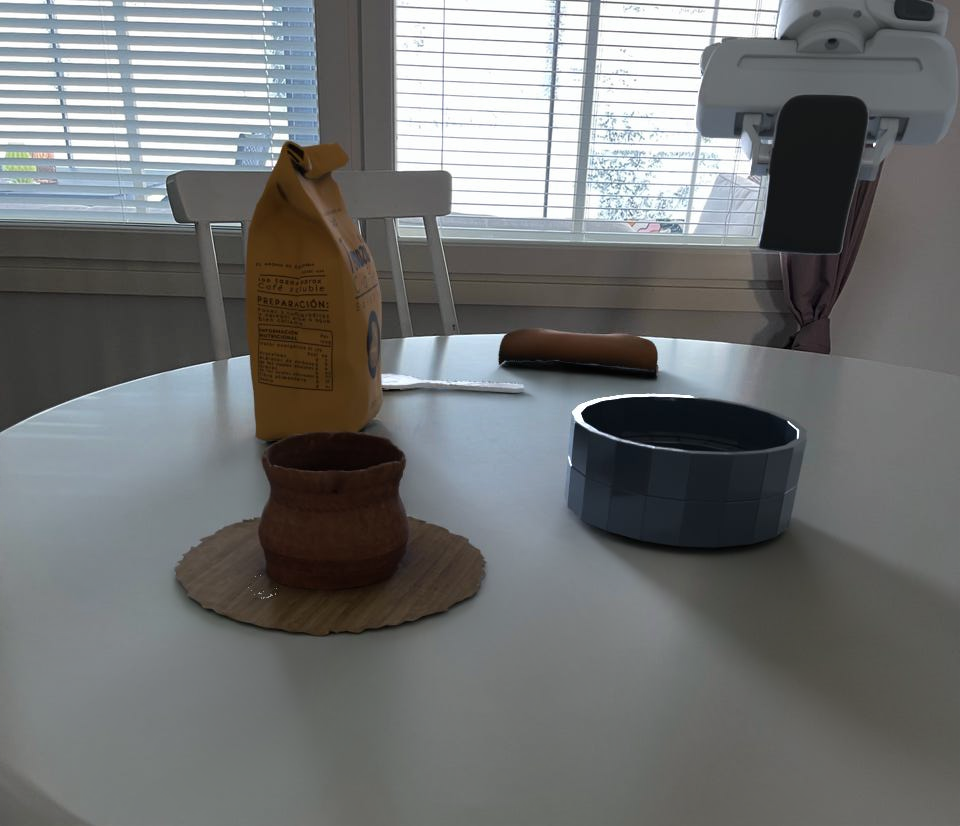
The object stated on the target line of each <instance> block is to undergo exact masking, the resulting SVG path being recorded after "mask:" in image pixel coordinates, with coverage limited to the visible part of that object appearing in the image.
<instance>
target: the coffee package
mask: <svg viewBox="0 0 960 826" xmlns="http://www.w3.org/2000/svg"><path fill="white" fill-rule="evenodd" d="M281 146H282V147H281V149H280V152H279V156H278V158H277V160H276V162H275V165H274V167H273V168H272V170H271V173H270V174H269V176H268V179H267V181H266V183H265V187H264V189H263V192H262V194H261V196H260V197H259V199H258V201H257V202H256V204H255V208H254V211H253V214H252V217H251V220H250V224H249V226H248V230H247V231H248V232H247V240H246V241H247V242H246V254H245V255H246V256H245V330H246V337H247V346H248V356H249V367H250V376H251V384H252V394H253V408H254V421H255V422H254V423H255V438H256V439H257V440H259V441H263V442H279V441H281V440H282V439H283V438H284V437H286V436H287V435H290V434H305V433H306V432H309V431H352V432H358V433H359V431H361V430H362V429H364V428H365V427H367V426H369V424H370V423H371V422H372V421H373V419H374V418H376V417H377V415H378V414H379V412H380V410H381V408H382V406H383V401H384V395H383V389H382V378H381V374H382V323H383V322H382V320H383V319H382V318H383V317H382V314H383V311H382V310H383V308H382V291H381V286H380V283H379V277H378V273H377V269H376V265H375V261H374V257H373V255H372V254H371V251H370V249H369V247H368V246H367V244H366V241H365V239H364V237H363V236H362V234H361V232H360V231H359V229H358V227H357V225H356V224H355V222H354V221H353V220H352V218H351V217H350V215H349V214H348V209H347V206H346V202H345V199H344V196H343V193H342V190H341V187H340V185H339V184H340V183H338V181H337V180H336V179H335V178H334V176H333V171H335V170H338V169H341V168H343V167H345V166H346V165H347V164H348V163H349V160H350V157H349V155H348V154H347V152H346V151H345V150H344V148H343V147H342V145H341V144H340V143H339V142H338V141H335V142H331V143H320V144H314V145H313V144H312V145H307V146H302V145H300V144H298V143H296V142H294V141H292V140H286V141H285V142H284V143H283V144H282V145H281Z"/></svg>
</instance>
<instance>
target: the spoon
mask: <svg viewBox="0 0 960 826" xmlns="http://www.w3.org/2000/svg"><path fill="white" fill-rule="evenodd" d="M381 378H382V388H392V389H400V390H403V389H402V388H412V389H416V388H436V389H448V390H465V391H480V392H481V391H482V392H496V393H497V392H499V393H512V394H519V393H523V392H524V391H525V385H524V384H521V383H519V382H518V383H516V382H514V383H513V382H505V383H504V382H494V381H488V382H487V381H483V380H481V381H475V380H473V381H471V380H469V381H463V380H459V381H458V380H456V379H454V380H449V379H445V380H443V379H441V380H436V379H425V378H419V377H417V376H414V375H408V374H400V373H388V372H386V373H381Z"/></svg>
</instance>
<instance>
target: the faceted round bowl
mask: <svg viewBox="0 0 960 826" xmlns="http://www.w3.org/2000/svg"><path fill="white" fill-rule="evenodd" d="M807 438H808V430H807V429H806V428H805V427H803V426H802V424H800V423H798V421H796V420H795V419H792V418H790V417H788V416H785V415H783V414H781V413H778V412H776V411H774V410H773V411H772V410H769V409H765V408H762V407H759V406H755V405H751V404H747V403H742V402H736V401H729V400H725V399H724V400H723V399H718V398H712V397H703V396H693V395H681V394H658V393H657V394H656V393H651V394H650V393H646V394H623V395H622V394H621V395H615V396H609V397H601V398H596V399H593V400H589V401H587V402H584V403H581V404H579V405H577V407H576V408H575V409H574V410H573V411H572V412H571V417H570V429H569V440H568V441H569V442H568V454H567V465H566V476H565V489H564V497H565V502H566V506H567V508H568V509H569V510H570V511H571V512H572V513H573V514H574V515H576V516H577V517H578V518H579V519H581V520H582V521H583V522H586V523H588V524H590V525H592V526H595V527H597V528H598V529H601V530H603V531H605V532H609V533H612V534H615V535H619V536H622V537H627V538H630V539H633V540H638V541H641V542H647V543H651V544H656V545H663V546H671V547H678V548H679V547H681V548H726V547H736V546H737V547H738V546H747V545H753V544H757V543H761V542H764V541H768V540H770V539H773V538H777V537H778V536H779V535H780V534H782V533H783V532H784V531H786V530H787V529H788V528H790V523H791V519H792V514H793V510H794V509H793V508H794V504H795V499H796V494H797V489H798V484H799V480H800V475H801V469H802V465H803V460H804V455H805V450H806V445H807V440H808V439H807Z"/></svg>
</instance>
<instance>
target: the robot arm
mask: <svg viewBox="0 0 960 826" xmlns="http://www.w3.org/2000/svg"><path fill="white" fill-rule="evenodd" d="M949 15H950V14H949V9H948V8H947V7H946V6H945V5H943V4H941V3H937V2H933V1H929V0H782V3H781V5H780V10H779V14H778V22H777V28H776V34H775V37H771V36H770V37H764V36H762V37H761V36H760V37H759V36H758V37H756V36H755V37H750V38H749V37H748V38H742V37H741V38H740V37H739V38H738V37H737V36H727V37H722V38H721V41H719V42H715V43H712V44H710V45H708V46H705V48H704V49H703V51H702V53H701V55H700V61H699V66H698V71H699V74H700V77H701V80H700V84H699V86H698V91H697V96H696V103H695V112H694V129H695V130H696V131H697V132H698V134H699V135H700V136H701V137H702V138H706V139H728V140H729V139H730V140H740V143H739V147H740V148H741V149H742V150H743V153H744V154H745V155H746V157H747V159H748V160H749V161H750V165H749V172H748V174H749V175H748V176H757V177H760V176H761V177H767V175H768V167H769V160H770V153H771V147H772V143H763V141H773V136H774V130H775V125H776V120H777V117H778V114H779V111H780V109H781V107H782V105H783V104H784V103H785V102H786V100H788V99H789V98H791V97H792V96H795V95H798V94H845V95H855V96H858V97H860V98H862V99H863V100H864V101H865V102H866V104H867V106H868V110H869V124H868V130H867V136H866V142H865V145H866V144H869V145H873V147H864V152H863V157H862V162H861V166H860V171H859V175H858V179H857V181H871V182H874V181H876V178H877V175H878V172H879V168H880V164H881V163H882V162H883V161H884V159H885V158H886V157H888V155H889V154H890V153H891V152H892V149H893V147H894V145H895V146H920V147H921V146H922V147H932V146H935V145H937V144H938V143H939V142H940V141H942V139H944V138H945V137H946V135H947V134H948V132H949V130H950V128H951V125H952V122H953V119H954V117H955V114H956V109H957V107H958V103H959V102H958V101H959V70H958V62H957V56H956V51H955V49H954V45H952V43H951V42H950V40H949V39H947V37H945V36H946V33H947V27H948V24H949V23H948V22H949Z"/></svg>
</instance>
